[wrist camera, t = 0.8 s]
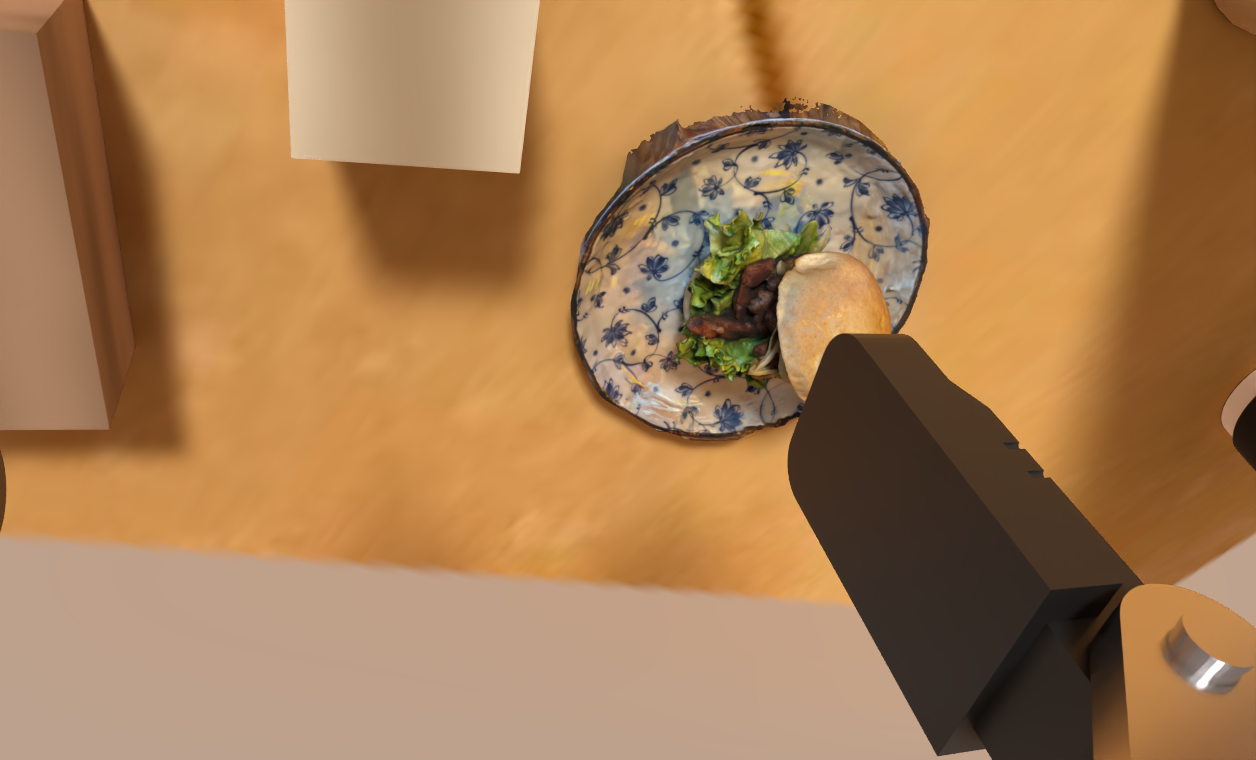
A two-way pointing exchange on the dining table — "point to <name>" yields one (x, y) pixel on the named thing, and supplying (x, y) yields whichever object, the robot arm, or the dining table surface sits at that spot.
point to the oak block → (410, 81)
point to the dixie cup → (1242, 418)
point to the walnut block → (56, 229)
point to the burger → (743, 267)
